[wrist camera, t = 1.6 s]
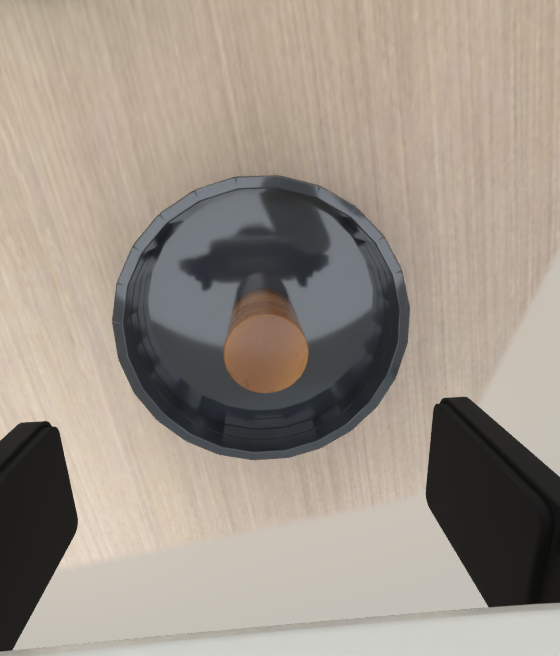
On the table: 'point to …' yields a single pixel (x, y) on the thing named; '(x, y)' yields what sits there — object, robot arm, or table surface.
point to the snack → (265, 342)
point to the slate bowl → (246, 275)
